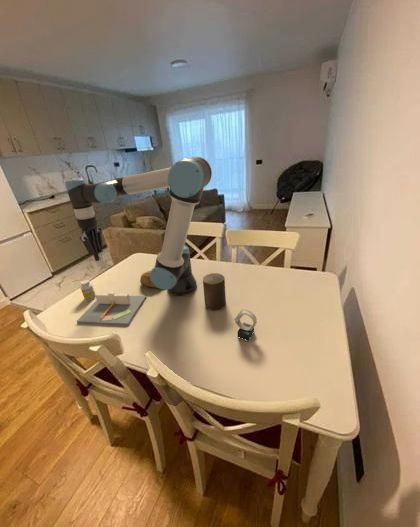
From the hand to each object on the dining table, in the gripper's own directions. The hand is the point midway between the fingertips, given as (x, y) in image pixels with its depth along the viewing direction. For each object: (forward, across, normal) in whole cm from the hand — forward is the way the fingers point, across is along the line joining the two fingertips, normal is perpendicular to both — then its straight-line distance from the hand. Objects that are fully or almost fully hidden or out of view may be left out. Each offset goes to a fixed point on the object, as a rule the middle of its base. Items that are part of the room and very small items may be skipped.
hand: (101, 265), depth 112 cm
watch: (+18, +22, +68) cm, 74 cm away
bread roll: (+19, -12, +18) cm, 29 cm away
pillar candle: (+18, +3, +54) cm, 57 cm away
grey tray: (+18, +10, +7) cm, 22 cm away
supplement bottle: (+18, +1, -11) cm, 21 cm away
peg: (+16, +12, +6) cm, 21 cm away
